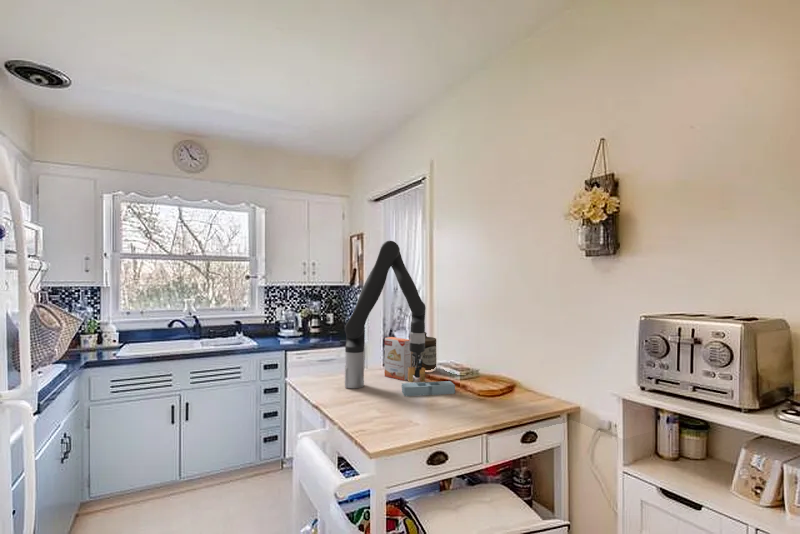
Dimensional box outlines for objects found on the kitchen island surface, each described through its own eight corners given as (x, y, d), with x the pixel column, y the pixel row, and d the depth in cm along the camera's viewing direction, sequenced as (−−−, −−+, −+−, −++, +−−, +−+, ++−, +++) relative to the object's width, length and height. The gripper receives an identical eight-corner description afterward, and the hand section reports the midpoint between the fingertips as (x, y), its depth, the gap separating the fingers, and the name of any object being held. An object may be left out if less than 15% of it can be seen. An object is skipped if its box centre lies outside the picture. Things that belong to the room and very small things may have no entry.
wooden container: (425, 374, 233) (425, 334, 233) (405, 370, 243) (405, 331, 243) (441, 370, 244) (441, 331, 244) (421, 365, 254) (422, 329, 254)
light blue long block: (404, 396, 193) (404, 387, 193) (401, 391, 200) (401, 383, 200) (454, 393, 198) (455, 385, 198) (450, 389, 205) (450, 381, 205)
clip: (408, 382, 206) (409, 368, 206) (407, 380, 209) (407, 367, 209) (424, 381, 207) (425, 368, 207) (423, 379, 210) (423, 366, 210)
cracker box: (383, 376, 228) (384, 337, 228) (391, 374, 233) (391, 336, 233) (403, 381, 219) (404, 340, 219) (411, 378, 224) (411, 339, 224)
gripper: (406, 339, 214) (405, 373, 214) (413, 344, 200) (412, 380, 200) (421, 339, 216) (420, 372, 216) (428, 344, 202) (427, 380, 202)
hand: (416, 376), depth 208 cm, fingers closed on clip, 3 cm apart
